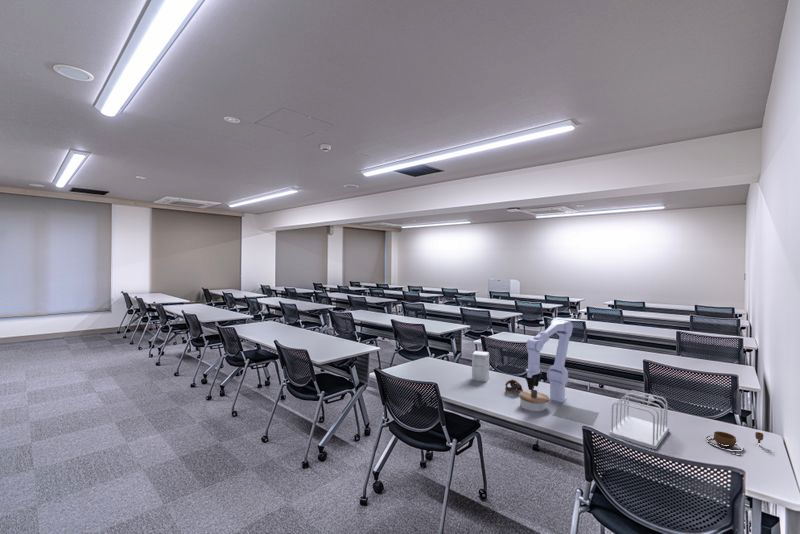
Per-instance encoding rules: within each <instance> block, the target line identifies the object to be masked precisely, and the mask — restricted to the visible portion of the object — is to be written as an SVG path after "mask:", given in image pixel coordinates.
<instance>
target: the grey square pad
mask: <svg viewBox="0 0 800 534" xmlns="http://www.w3.org/2000/svg"><path fill="white" fill-rule="evenodd" d="M599 414H600V413H599V412H596V411H593V410H592V411H591V410H588V409H584V408H580V407H576V406H572V405H571V406H570V405H566V404H564V403H563V404H562V403H561V404H560V405H559V406H558V407H557V408H556V410H555V411H554V412H553V413H552V416H554V417H557V418H561V419H564V420H569V421H573V422H577V423H581V424H585V425H589V426H593V425H594V424H595V422H596V421H597V420H596V419H597V418H598V416H599Z"/></svg>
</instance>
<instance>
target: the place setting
mask: <svg viewBox="0 0 800 534" xmlns="http://www.w3.org/2000/svg"><path fill="white" fill-rule="evenodd" d="M710 436H711V435H708V436H706V437H705V439H707V438H708V437H710ZM713 436H714V439H713V440H714V441H715V442H716V443H717V442H718V443H720V444H723V445H729V446H731V447H734V446H735V443H736V442H737V441H736V439H737V437H736V436H735V435H733V434H731V433H729V432H725V431H724V432H723V431H719V430H718V431H714V432H713ZM755 439H756V440H757V442H758V443H761V441H763V440H764V433H763V432H760V431H756V432H755ZM707 440H708V439H707ZM707 440H706V441H707ZM708 441H709V442H710V443H712V444H714V445H717V444H716V443H713V442H712V441H710V440H708ZM758 443H757V444H758ZM733 445H734V446H733Z"/></svg>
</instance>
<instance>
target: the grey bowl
mask: <svg viewBox="0 0 800 534" xmlns="http://www.w3.org/2000/svg"><path fill="white" fill-rule="evenodd" d="M519 399H520V407H521V409H524V410H526V411H531V412H542V411H545V410H546V408H547V407H546V403H541V404H539V403H531V402H527V401H524V400H522V399H521V398H519Z"/></svg>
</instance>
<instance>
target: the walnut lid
mask: <svg viewBox="0 0 800 534" xmlns="http://www.w3.org/2000/svg"><path fill="white" fill-rule="evenodd" d="M518 398H519V399H522V400H524V401H527V402H531V403H539V404H541V403H549V402H550V399H549V396H548V394H545V393H542V392H540V391H538V390H537V389H533V391H532V390H527V391H525V390H523V392H522V391H520V392H519V393H518Z"/></svg>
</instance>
